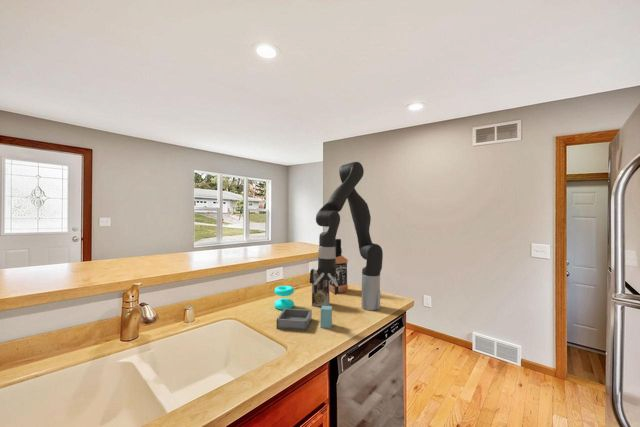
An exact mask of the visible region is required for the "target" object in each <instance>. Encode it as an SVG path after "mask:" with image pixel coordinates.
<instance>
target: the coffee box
mask: <svg viewBox="0 0 640 427" xmlns="http://www.w3.org/2000/svg"><path fill="white" fill-rule="evenodd" d="M318 277H319V275H318V274H317V272H316V273H315V274H314V278H313V280H314V281H316V279H317V278H318ZM317 284H318V291H317V294H315V292H314V284H312V283H311V306H312V307H322V306H330V291H329V281H328V280H322V279H320V281H319V282H318V283H317Z"/></svg>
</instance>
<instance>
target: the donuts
mask: <svg viewBox="0 0 640 427" xmlns="http://www.w3.org/2000/svg"><path fill="white" fill-rule="evenodd" d="M274 293H275V295H276V296H279V297H281V298H279V299H277V300H275V301H274V305H273V306H274V308H276V309H277V310H282V311H283V310H284V309H285V308H286V309H293V307H294V305H295V302H294V301H293V299H291V298H285V297H290V296H291V295H293V294H294V293H295V289H294V287H292V286H290V285H279V286H276V287H275V288H274ZM282 297H284V298H282Z"/></svg>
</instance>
